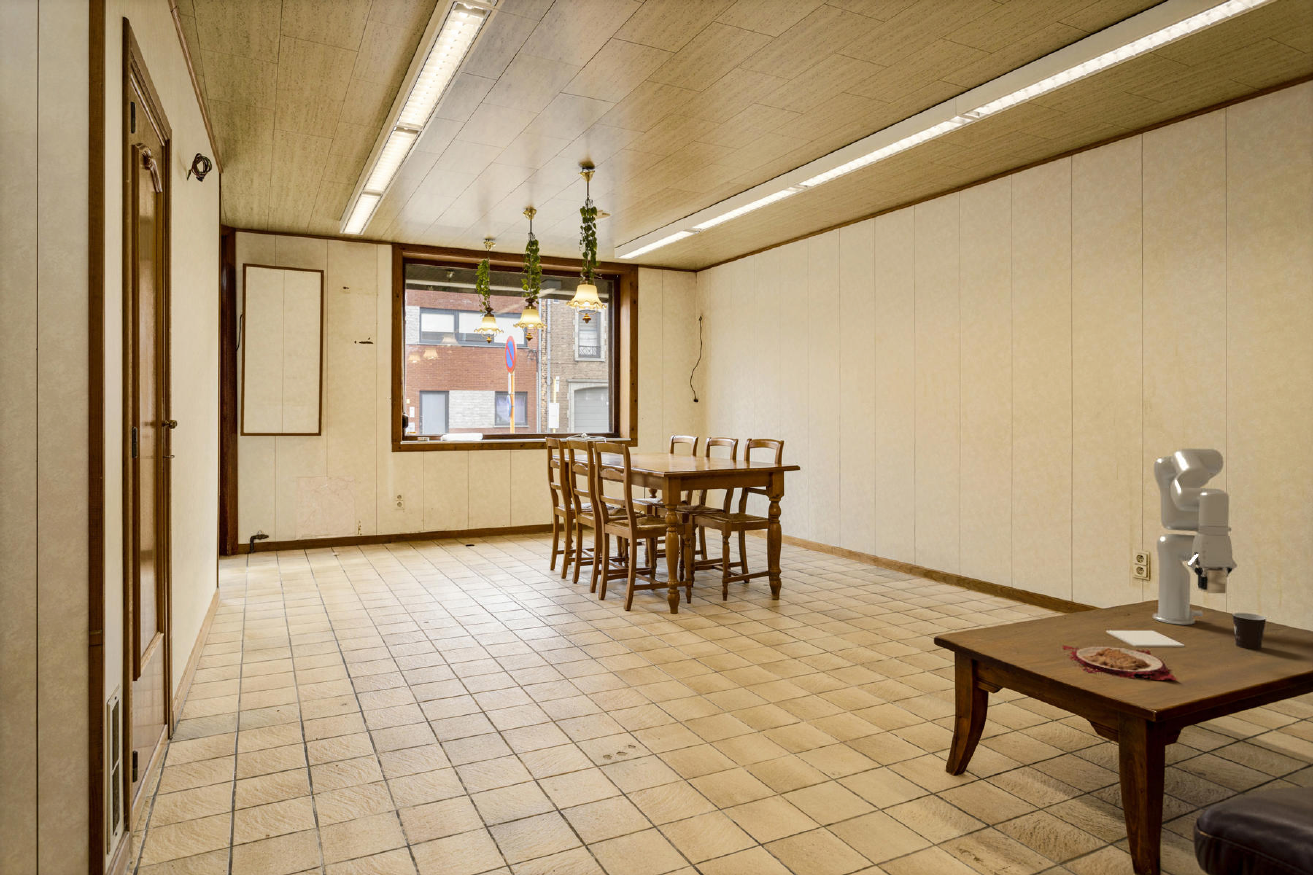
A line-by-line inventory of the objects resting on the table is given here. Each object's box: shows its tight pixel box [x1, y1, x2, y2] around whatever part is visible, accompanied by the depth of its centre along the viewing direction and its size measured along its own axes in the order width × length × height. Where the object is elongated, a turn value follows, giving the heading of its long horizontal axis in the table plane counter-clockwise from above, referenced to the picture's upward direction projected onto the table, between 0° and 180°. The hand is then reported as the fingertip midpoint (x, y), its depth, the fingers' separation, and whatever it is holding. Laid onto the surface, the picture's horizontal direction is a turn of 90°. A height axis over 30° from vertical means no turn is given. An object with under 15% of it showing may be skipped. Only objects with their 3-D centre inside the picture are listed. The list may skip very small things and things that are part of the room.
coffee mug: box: [1232, 612, 1267, 651], centre depth 250 cm, size 12×9×10 cm
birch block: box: [1197, 568, 1227, 594], centre depth 240 cm, size 5×5×7 cm
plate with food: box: [1062, 645, 1178, 681], centre depth 233 cm, size 25×26×4 cm
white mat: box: [1106, 630, 1185, 648], centre depth 258 cm, size 16×16×1 cm
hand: (1211, 588), depth 240 cm, fingers closed on birch block, 5 cm apart
